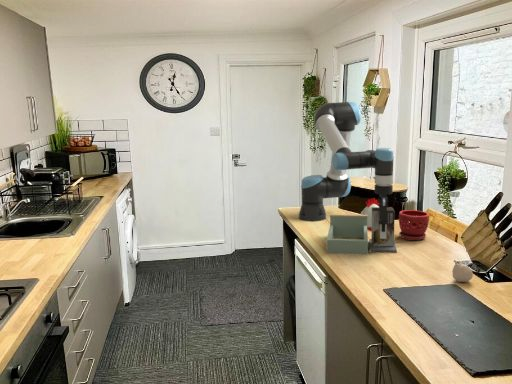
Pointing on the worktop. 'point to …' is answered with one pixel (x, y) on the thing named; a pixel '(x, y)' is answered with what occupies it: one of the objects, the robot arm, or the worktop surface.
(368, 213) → the kitchen timer
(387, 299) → the worktop surface
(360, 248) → the green drawer
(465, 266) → the garlic bulb
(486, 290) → the worktop surface
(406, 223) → the plant pot
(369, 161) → the robot arm
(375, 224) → the coffee box
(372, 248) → the rubber mat
